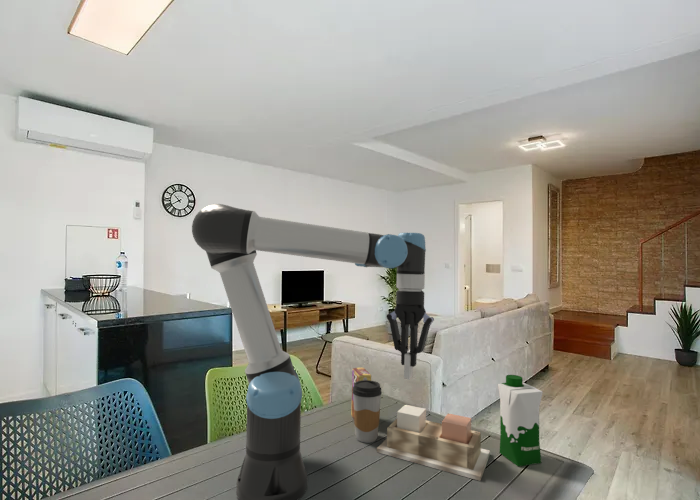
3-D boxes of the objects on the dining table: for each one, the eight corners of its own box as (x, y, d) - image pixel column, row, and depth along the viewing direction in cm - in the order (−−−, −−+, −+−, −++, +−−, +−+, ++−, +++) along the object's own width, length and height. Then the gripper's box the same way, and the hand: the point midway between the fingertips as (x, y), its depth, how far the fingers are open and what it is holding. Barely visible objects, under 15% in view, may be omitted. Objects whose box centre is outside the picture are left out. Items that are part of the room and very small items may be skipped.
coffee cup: (381, 432, 111) (382, 380, 112) (380, 445, 103) (381, 389, 103) (353, 430, 112) (353, 379, 112) (350, 443, 104) (351, 388, 104)
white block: (396, 438, 101) (397, 411, 101) (404, 429, 106) (405, 404, 106) (418, 443, 98) (418, 416, 98) (425, 434, 103) (426, 408, 103)
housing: (376, 452, 99) (377, 428, 99) (396, 431, 111) (397, 411, 112) (480, 481, 87) (480, 454, 87) (490, 454, 99) (490, 431, 99)
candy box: (371, 425, 116) (371, 374, 116) (357, 426, 115) (358, 375, 115) (363, 414, 124) (364, 367, 125) (350, 415, 123) (351, 367, 124)
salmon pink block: (441, 449, 95) (441, 421, 95) (447, 440, 100) (448, 413, 100) (466, 455, 92) (466, 426, 92) (471, 445, 97) (471, 418, 98)
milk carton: (522, 447, 103) (521, 373, 103) (547, 465, 94) (547, 383, 95) (494, 451, 100) (494, 375, 101) (517, 469, 92) (517, 386, 92)
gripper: (437, 290, 103) (436, 378, 102) (393, 288, 109) (391, 370, 108) (429, 292, 96) (427, 385, 95) (382, 289, 103) (380, 377, 102)
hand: (408, 377), depth 102 cm, fingers closed
